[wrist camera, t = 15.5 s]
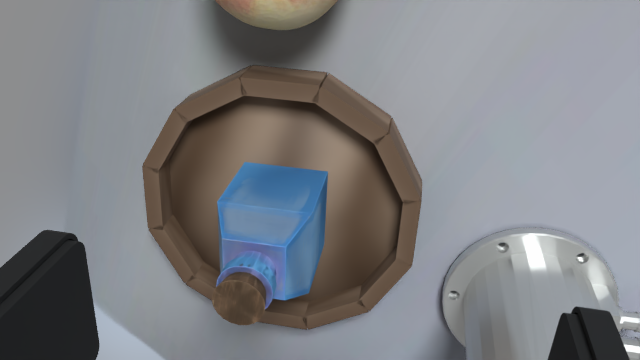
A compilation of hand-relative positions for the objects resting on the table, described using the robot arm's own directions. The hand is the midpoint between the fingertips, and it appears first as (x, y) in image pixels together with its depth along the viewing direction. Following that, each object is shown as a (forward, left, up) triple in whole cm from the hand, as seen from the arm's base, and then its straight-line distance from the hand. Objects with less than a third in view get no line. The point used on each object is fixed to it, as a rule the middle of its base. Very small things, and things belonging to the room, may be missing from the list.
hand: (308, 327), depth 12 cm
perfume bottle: (+7, +14, -30) cm, 33 cm away
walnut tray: (+7, +14, -30) cm, 34 cm away
